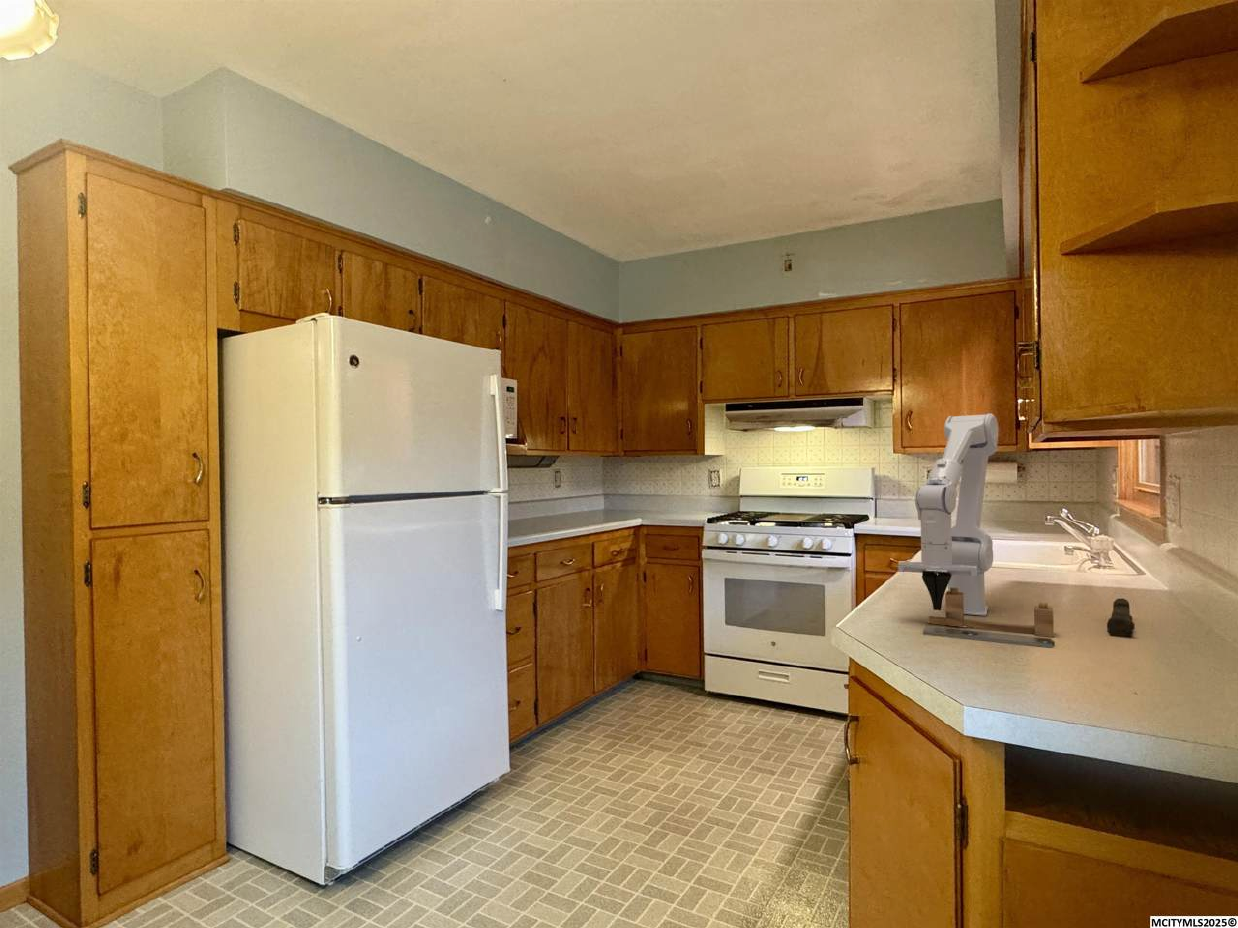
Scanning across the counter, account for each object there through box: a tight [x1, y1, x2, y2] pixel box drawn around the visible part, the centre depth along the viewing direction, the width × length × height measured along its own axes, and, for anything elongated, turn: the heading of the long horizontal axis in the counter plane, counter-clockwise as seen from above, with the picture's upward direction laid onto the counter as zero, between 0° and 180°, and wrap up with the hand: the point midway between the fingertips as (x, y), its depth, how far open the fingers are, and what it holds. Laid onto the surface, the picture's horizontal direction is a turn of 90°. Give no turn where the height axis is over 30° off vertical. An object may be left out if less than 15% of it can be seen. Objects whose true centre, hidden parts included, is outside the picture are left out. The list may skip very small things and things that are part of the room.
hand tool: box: [1106, 598, 1135, 639], centre depth 130 cm, size 19×4×5 cm, turn 139°
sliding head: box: [944, 588, 965, 628], centre depth 134 cm, size 4×3×7 cm
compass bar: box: [927, 601, 1055, 638], centre depth 131 cm, size 4×22×6 cm, turn 59°
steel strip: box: [922, 625, 1056, 649], centre depth 124 cm, size 4×21×1 cm, turn 59°
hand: (937, 609), depth 136 cm, fingers closed
